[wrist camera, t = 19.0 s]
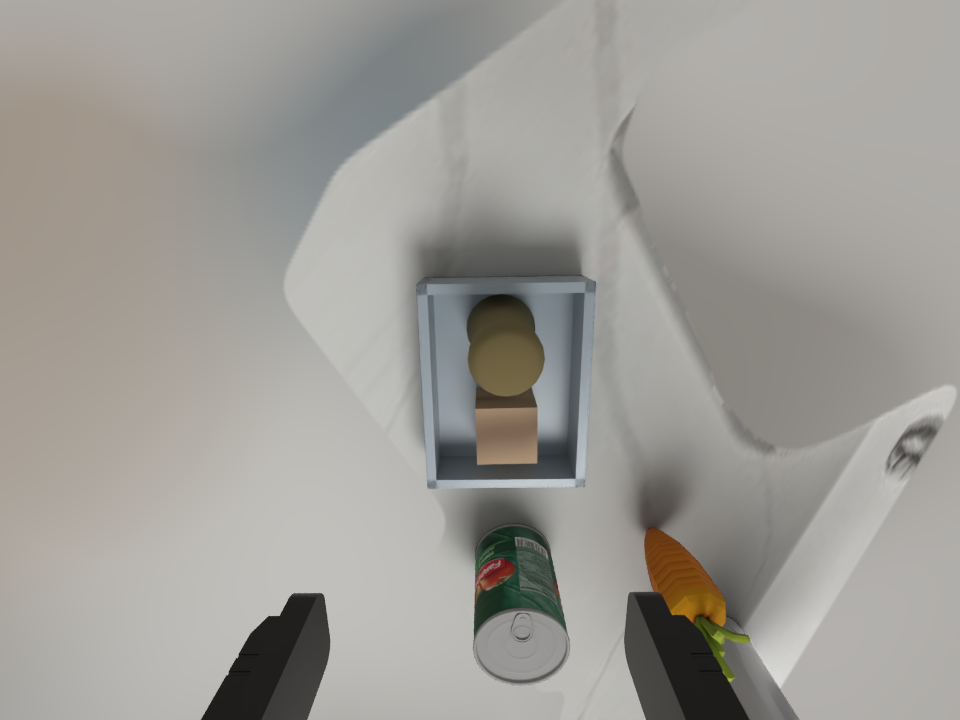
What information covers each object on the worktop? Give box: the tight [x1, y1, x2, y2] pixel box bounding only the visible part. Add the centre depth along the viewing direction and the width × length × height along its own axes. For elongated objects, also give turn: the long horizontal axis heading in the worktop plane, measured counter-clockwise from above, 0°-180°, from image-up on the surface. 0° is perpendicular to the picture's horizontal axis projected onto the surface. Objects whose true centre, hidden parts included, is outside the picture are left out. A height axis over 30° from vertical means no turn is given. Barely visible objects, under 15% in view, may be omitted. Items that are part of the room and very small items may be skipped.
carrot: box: [644, 528, 750, 682], centre depth 39 cm, size 5×5×15 cm
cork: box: [466, 294, 545, 397], centre depth 34 cm, size 6×6×11 cm
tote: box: [416, 275, 596, 488], centre depth 39 cm, size 18×14×5 cm
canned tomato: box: [473, 524, 570, 685], centre depth 42 cm, size 8×8×11 cm
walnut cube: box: [475, 387, 538, 465], centre depth 39 cm, size 5×5×5 cm
